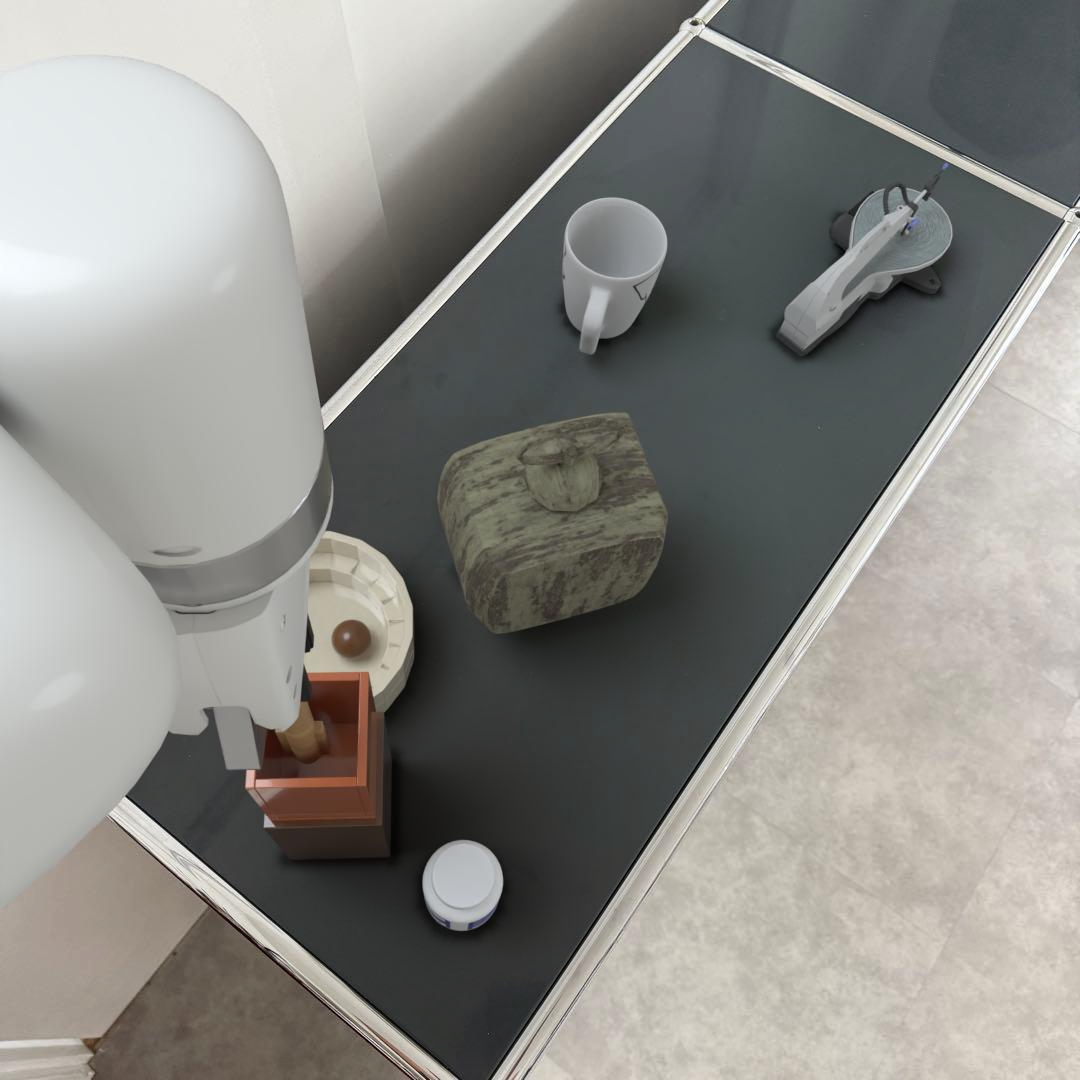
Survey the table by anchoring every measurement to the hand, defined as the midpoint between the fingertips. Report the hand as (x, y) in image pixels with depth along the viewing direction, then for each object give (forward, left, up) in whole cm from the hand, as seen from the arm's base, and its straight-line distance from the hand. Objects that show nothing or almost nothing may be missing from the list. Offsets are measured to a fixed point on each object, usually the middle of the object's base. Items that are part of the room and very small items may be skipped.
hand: (276, 669), depth 48 cm
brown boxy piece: (0, 0, -34) cm, 34 cm away
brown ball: (+1, +12, -32) cm, 34 cm away
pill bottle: (+9, -6, -34) cm, 35 cm away
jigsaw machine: (+46, +47, -34) cm, 74 cm away
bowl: (-2, +12, -34) cm, 36 cm away
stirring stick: (0, 0, -15) cm, 15 cm away
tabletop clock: (+15, +17, -34) cm, 41 cm away
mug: (+21, +42, -34) cm, 58 cm away
